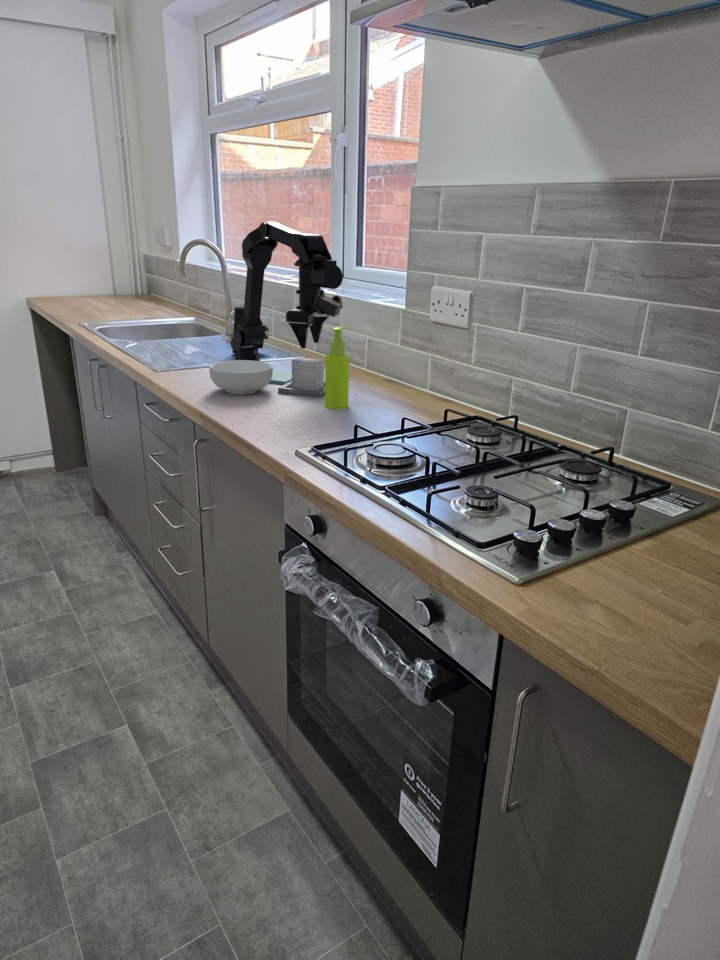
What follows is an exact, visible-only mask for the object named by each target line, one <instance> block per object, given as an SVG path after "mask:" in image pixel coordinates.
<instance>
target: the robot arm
mask: <svg viewBox="0 0 720 960" xmlns="http://www.w3.org/2000/svg"><path fill="white" fill-rule="evenodd" d="M279 244H282V245H284V246H286V247H289V248H290V249H291V252H292V253H293V254H294V255H295V256H296V257H297V258H298V259H297V260H296V261H295V262H294V266H295V267H298V289H296V290H295V293H296V294H297V295H298V305H296V306H295V307H296V308H293V309H289V310H287V312H286V313H285V322H288V325H289V326H290V329H292V332H293V334H294V335H295V338H296V340H297V342H298V344H299V346H300V348H301V349H304V350H305V349H306V347H307V342H308V341H307V340H308V332H309V329H310V333H311V336H312V340H313V343H315V344H318V343H319V341H320V337H321V334H322V330H323V327H324V324H325V323H326V321H327V320H330V318H331V317H332V318H335V317H336V316H339V315H340V312H341V309H343V308H344V307H343V302H342V297H341V296H340V295H338V294H337V295H334V296H332V297H331V296H326V295H325V290H324V289H331V290H336V289H339V287H340V286H341V285H342V283H343V279H344V274H343V272H342V270H341V268H340V267H339V266H338V265H337V260H335V259H334V260H333V258H332V255H331V253H330V251H329V248H328V246H327V244H326V241H325V240H324V237H323V236H322V235H321V234H318V233H302V232H300V231H297V230H295V229H292V228H290V227H287V226H285V225H283V224H281V223H279V222H278V221H263V222H261V223H260V224H259V226H258V227H257V228H255V229H253V230H252V231H250V232H249V233H248V234H247V235H246V237H245V238H243V240H242V243H241V250H242V253H241V254H242V255H241V256H242V258H243V260H244V263H245V265H246V277H245V278H246V279H245V280H246V281H245V289H244V290H245V291H244V292H245V293H244V302H243V303H244V305H243V308H244V314H243V316H242V318H241V319H240V320H239V322H238V323H237V329H236V333H235V334H234V336H232V338H231V339H230V342H229V343H230V347H231V348H230V349H232V350H233V349H234V350H236V354H235V358H236V359H235V360H252V361H260V362H261V354H260V353H259V349H260V350H261V349H263V348H264V344H265V343H264V342H265V339H264V338H265V334H266V331H265V330H266V326H267V325H266V324H263V321H262V319H261V311H262V302H263V301H262V300H263V290H264V289H263V288H264V281H265V280H264V279H265V270H266V268H267V266H268V265H269V264H270V262H272V261H271V260H272V258H273V257H272V256H273V253H274V250H275V249H276V248H277V247H278V245H279Z"/></svg>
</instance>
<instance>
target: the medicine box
mask: <svg viewBox="0 0 720 960" xmlns="http://www.w3.org/2000/svg"><path fill="white" fill-rule="evenodd" d="M291 372H292V388H293V389H302V390H310V391H319V390H321V389H323V388H324V382H325V361H324V359H318V358H309V357H301V356H299V357H296V358H294V359H291Z"/></svg>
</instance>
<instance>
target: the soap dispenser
mask: <svg viewBox="0 0 720 960" xmlns="http://www.w3.org/2000/svg"><path fill="white" fill-rule="evenodd" d="M347 329H348V327H347V326H340V325H339V326H334V327H333V328H332V332H334V339H332V340H331V341H330V353H328V354H326V355H325V372H324V382H325V395H324V407H325V408H327V409H331V410H343V409H347V408H349V392H350V390H349V389H350V388H349V387H350V386H349V385H350V358H351V357H350V355H349V354H346V353H345V352H346V351H345V350H346V349H345V347H346V346H345V344H346V341H344V339H342V337H343V336H342V334H343V333H342V332H343V331H344V330H347Z"/></svg>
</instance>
